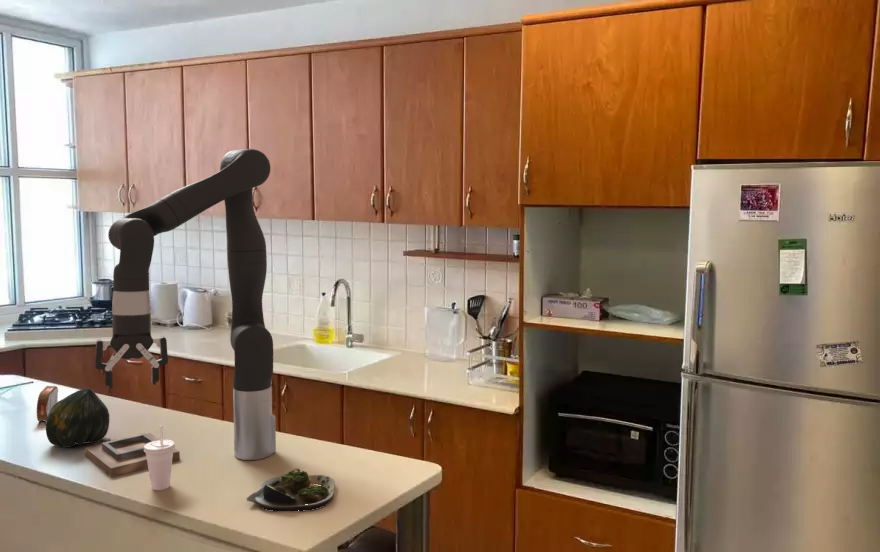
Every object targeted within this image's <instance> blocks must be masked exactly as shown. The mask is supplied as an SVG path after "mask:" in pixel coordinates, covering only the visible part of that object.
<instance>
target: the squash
mask: <svg viewBox="0 0 880 552" xmlns="http://www.w3.org/2000/svg"><path fill="white" fill-rule="evenodd" d="M109 427H110V412H109V409H108V407H107V406H106V404H105V403H104V402H103V401H102V400H101V398H100V397H99V396H98V394H97V393H96V392H95V391H94V390H93V389H91V388H90V387H87V388H82V389H79V390H76V391H75V392H73V393H71V394H68V396H66V397H63V399H61V400H59V401H58V402H57V403H56V404H55V405H54V406H53V407H52V408H51V410H50V412H49V415H48V418H47V420H46V421H45V433H46V437H47V441H48V442H49V443H50V444H51V445H53V446H55V447H60V448H61V447H64V448H71V447H74V445H79V446H80V445H83V444H89V443H95V442H99V441H101V440H103V439H104V438H105V436H106V435H107V433H108V432H109V429H110V428H109Z"/></svg>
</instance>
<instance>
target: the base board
mask: <svg viewBox="0 0 880 552" xmlns="http://www.w3.org/2000/svg"><path fill="white" fill-rule="evenodd" d="M156 440H160V437H157V436H155V435H154V434H153V433H151V432H149V433H140V434H136V435H132V436H126V437H123V438H118V439H114V440H110V441H105V442H102V443H100V444H95V445H90V446H86V447H84V455H85V457H86V458H88V459H89V460H90V461H92V462H93V463H94V464H95V465H96V466H98V467H99V468H100V469H101V470H102V471H103V472H105V473H106V474H107V475H108V476H110V477H115V476H120V475H123V474H128V473H131V472H134V471H138V470H143V469H147V468H148V463H147V458H146V453H145V452H144V445H145V444H147V443H149V442H152V441H156ZM180 455H181V452H180V450H178V449H177V448H176V447H175V448H174V449H173V458H172V462H174V461H178V460H180V459H181V456H180Z"/></svg>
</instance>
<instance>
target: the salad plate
mask: <svg viewBox="0 0 880 552" xmlns="http://www.w3.org/2000/svg"><path fill="white" fill-rule="evenodd" d="M335 482H336V481H335V479H334V478H333V477H331V476H328V475H326V474H325V475H324V474H310V475H309V474H308V472H307V471H304V470H302V471H301V469H300V468H294V469H292V470H291V471H289V472H287V473H284V474H283V475H278V476H273V477H270V478H267V479H265V480H263V481H262V483H260V485H259V488H258V490H257V491H256V492H253V493H252V494H250V495H249V496H248V497H246V501H247V502H252V503H253V504H255V505H257V506H258V507H259V508H261V509H263V508H264V509H263V510H265V509H267V510H266V511H268V510H273V511H272V512H277V511H298V510H299V511H300V512H304V511H303V510H310V511H313V510H312V509H315V510H317V509H316V508H319V509H321V508H323V507H322V506H324V507H326V506H327V505H328V504H329V503H330V502H331V501H332V500H333V499H334V496H335V486H336V485H335V484H336V483H335ZM311 484H318V485H321V486H317V485H311ZM309 485H310V486H309ZM305 504H308V505H305ZM326 504H327V505H326ZM320 507H321V508H320Z"/></svg>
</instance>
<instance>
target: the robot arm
mask: <svg viewBox="0 0 880 552" xmlns="http://www.w3.org/2000/svg"><path fill="white" fill-rule="evenodd" d="M219 168H220V169H219V170H220V171H218V172H216V173H214V174H212V175H210V176H207V177H205V178H203V179H201V180H198V181H196V182H193V183H190V184H188V185H185V186H183V187H181V188H179V189H176V190H174V191H172V192H170V193H168V194H166V195H164V196H163V197H162V198H159V199H158V200H157V201H154V202H153V203H151V204H150V205H148V206H145V207H143V208H140V209H138V210H136V211H134V212H133V211H132V212H131V213H128V214H127V215H124V216H123V217H121V218H118V219H117V220H116V221H114V222H113V223H112V224H111V226H110V227H109V230H108V234H107V235H108V236H107V237H108V241H109V242H110V244H111V245H112V246H113V247H115V248H116V249H117V250H119V261H118V263H117V264H116V265H115V266H114V269H113V274H112V275H113V277H112V278H113V280H112V281H113V282H112V283H113V291H112V293H113V294H112V295H113V296H112V300H111V301H112V306H111V311H112V314H111V315H112V318H111V319H112V323H111V324H112V336H111V339H109V340H108V339H107V340H105V339H104V340H103V339H101V338H100V339H97V340H96V343H95V361H94V367H95V369H97V370H103V371H104V384H105V387H108V389H113V388H114V387H113V367H115V365H116V364H117V363H118V362H119V361H120V360H121V359H122V360H123V359H124V360H131V359H136V360H139V359H141V358H143V357H144V358H145V359H146V360H147V361H148V362H149V364H150V365H152V366H151V368H150V369H151V370H150V371H151V374H150V375H151V377H150V378H151V380H150V381H151V385H152V386H155V385H156V384H157V383H158V382H159V380H160V367H162V366H165V365H167V364H168V363H169V357H168V355H169V354H168V345H167V338H166V337H165V336H163V335H161V336H159V337H152V332H151V331H152V327H151V326H152V324H151V323H152V317H151V316H152V315H151V314H152V312H151V311H152V306H151V304H152V302H151V296H150V295H151V294H150V266H151V264H152V259H153V253H154V247H155V236H157V235H160V234H163V233H167V232H171V231H173V230H174V229H176V228H178V227H180V226H182V225H183V224H185V223H186V222H188V221H191V220H192V219H193V218H195V217H197V216H198V215H200V214H202V213H203V212H205V211H206V210H209V209H210V208H212V207H213V206H216V205H217V204H219V203H221V202H224V208H225V229H226V242H227V243H226V252H227V253H226V256H227V271H228V281H229V288H230V296H231V304H232V305H231V307H232V308H231V328H230V341H229V342H230V345H231V348H232V349H233V353H234V374H233V375H234V376H233V378H232V396H233V397H232V401H233V403H232V404H233V437H234V438H233V441H234V442H233V443H234V446H233V451H234V457H235V458H236V459H239V460H243V461H254V460H261V459H265V458H269V456H271V455H272V454H275V453H276V451H277V442H276V441H277V439H276V437H277V436H276V435H277V433H276V431H277V430H276V427H277V426H276V415H275V414H273V396H272V394H273V393H272V390H273V389H272V387H273V386H272V382H273V381H272V379H273V375H274V340H273V337H272V336H273V335H272V334H271V332H270V331H269V330H268V328H266V325H265V319H264V311H263V295H264V289H265V285H266V279H267V271H268V267H267V266H268V265H267V264H268V260H267V259H268V257H267V245H266V244H267V243H266V238H265V235H264V232H263V230H262V228H261V225H260V223H259V221H258V218H257V215H256V212H255V207H254V199H253V198H254V197H253V188H257V187H260V186H262V185H263V184H264V183H265V182H266V181H267V179H269V177H270V174H271V163H270V160H269V158H268V157H267V155H266V154H265V153H264V152H262V151H260V150H258V149H254V148H244V149H233V150H230V151H228V152H227V153H225V155H223V157H222V159H221V161H220V165H219ZM153 344H155V345H156V347H157V348H159V352H160V353H159V354H160V358H158V359H156V358H155V356H154V355H152V353H151V352H150V351H149V350H150V349H151V347H152V346H153ZM109 346H110V347H111V348H112V349H113V350H114V352H113V353H112V355H111V357H110V358H109V359H108V361H107V362H103V351H106V350H107V348H108V347H109Z"/></svg>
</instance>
